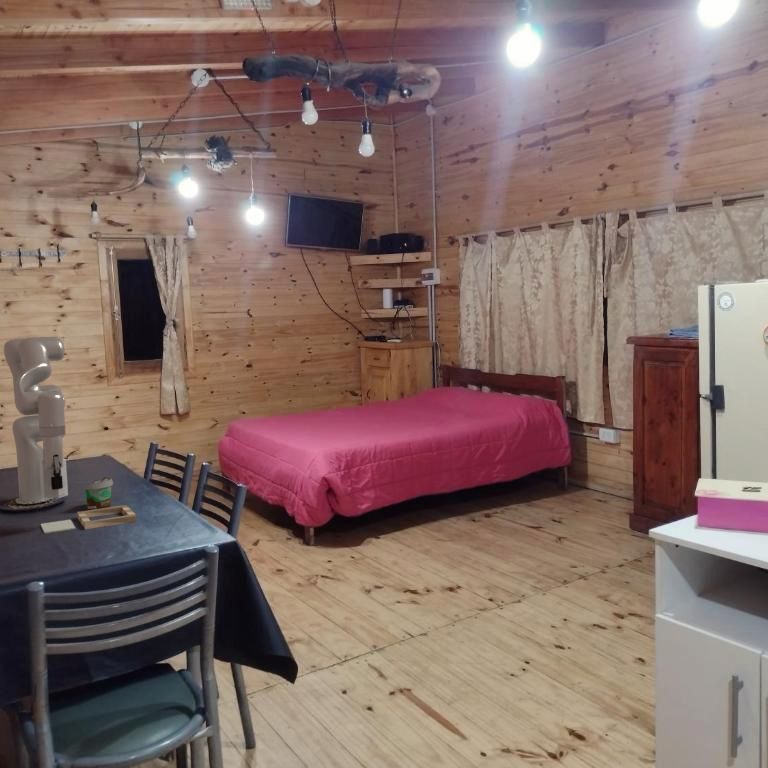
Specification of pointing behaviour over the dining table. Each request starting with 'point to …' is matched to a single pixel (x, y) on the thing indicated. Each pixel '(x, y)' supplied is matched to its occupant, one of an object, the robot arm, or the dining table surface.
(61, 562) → the dining table surface
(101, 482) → the food container
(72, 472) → the dining table surface
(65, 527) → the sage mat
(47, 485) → the skincare box
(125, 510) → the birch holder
